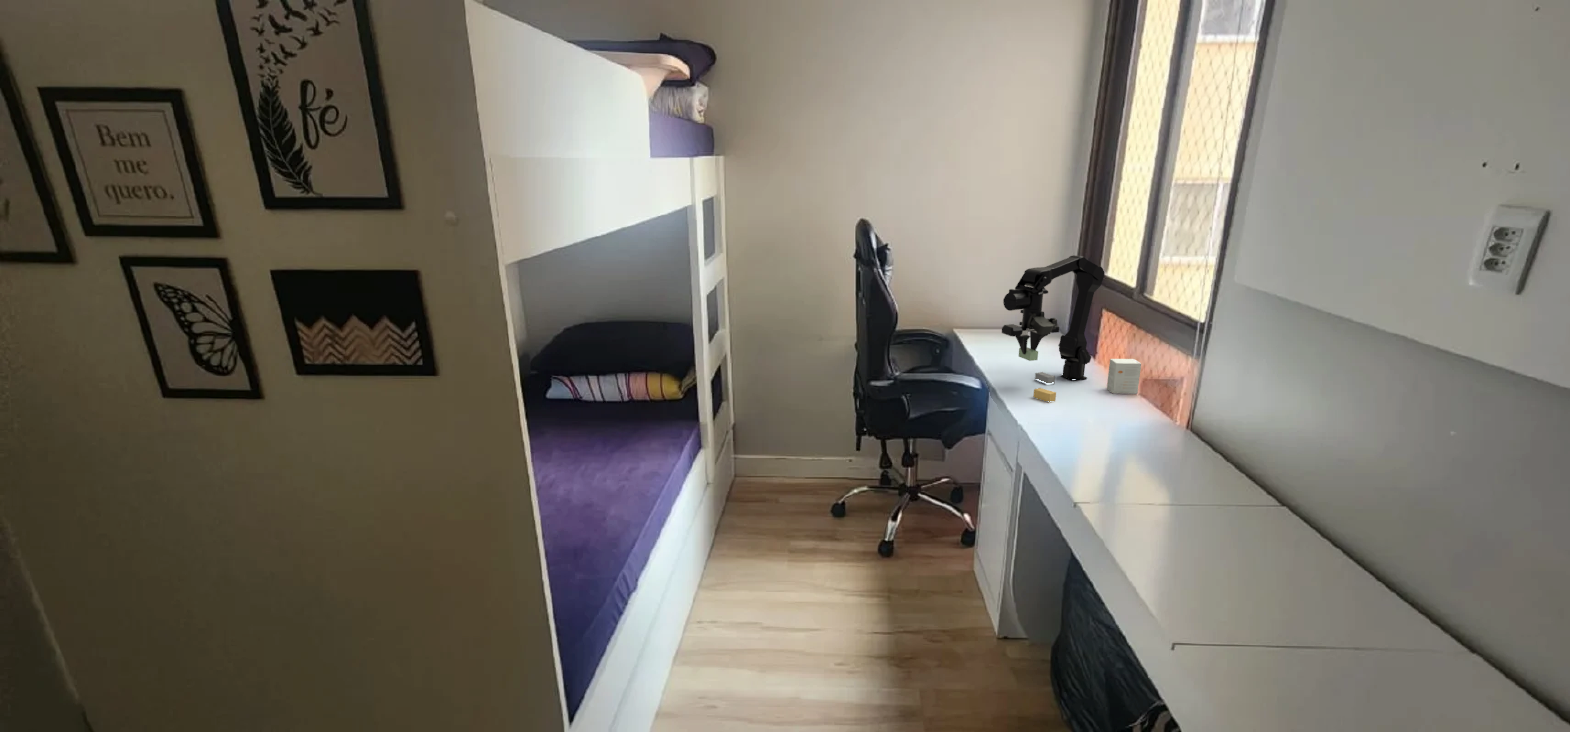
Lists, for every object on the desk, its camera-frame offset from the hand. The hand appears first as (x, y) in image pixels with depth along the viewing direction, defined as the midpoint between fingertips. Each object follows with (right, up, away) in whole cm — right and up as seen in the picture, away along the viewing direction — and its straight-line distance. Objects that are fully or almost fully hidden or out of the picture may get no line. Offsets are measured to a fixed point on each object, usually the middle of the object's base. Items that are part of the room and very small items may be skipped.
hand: (1028, 353), depth 226 cm
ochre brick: (+2, -15, -10) cm, 18 cm away
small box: (+30, -13, -3) cm, 32 cm away
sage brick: (0, -1, 0) cm, 2 cm away
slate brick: (+8, -10, +8) cm, 15 cm away
